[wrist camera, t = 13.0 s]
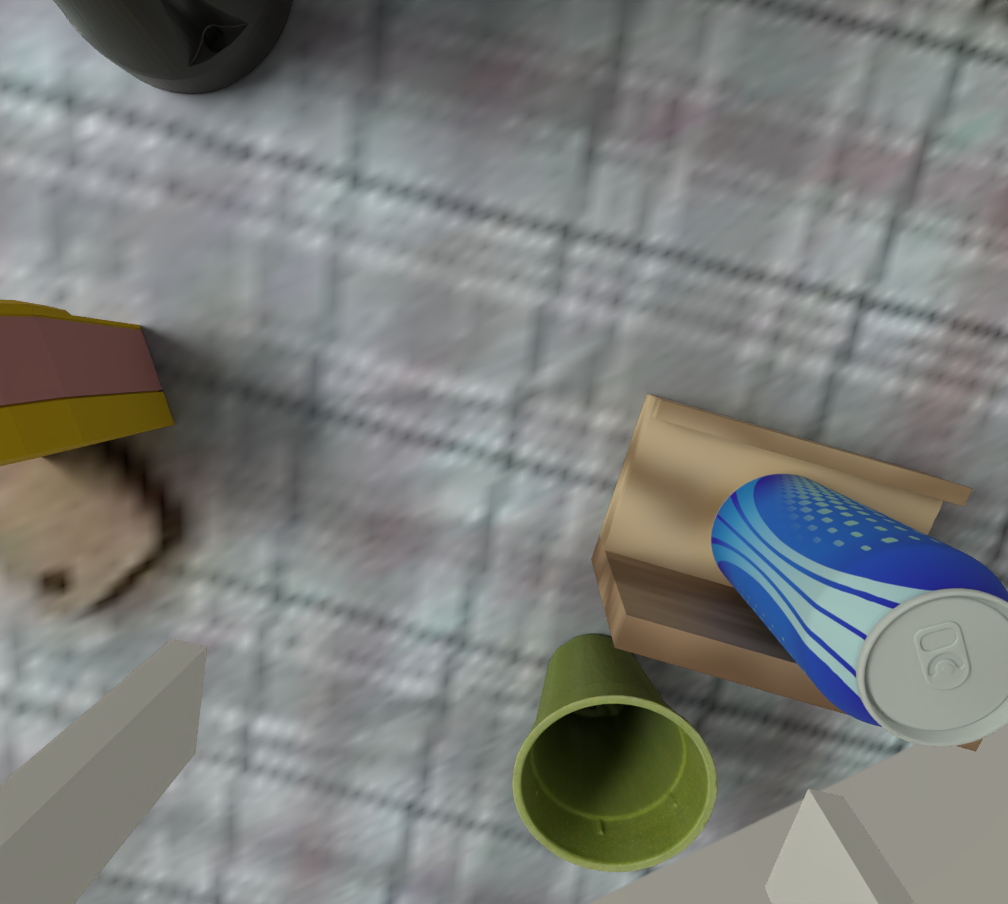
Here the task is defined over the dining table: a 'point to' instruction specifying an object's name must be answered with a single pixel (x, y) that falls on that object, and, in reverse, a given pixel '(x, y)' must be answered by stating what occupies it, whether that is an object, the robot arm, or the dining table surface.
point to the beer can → (870, 609)
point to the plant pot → (611, 764)
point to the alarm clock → (72, 382)
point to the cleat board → (687, 539)
